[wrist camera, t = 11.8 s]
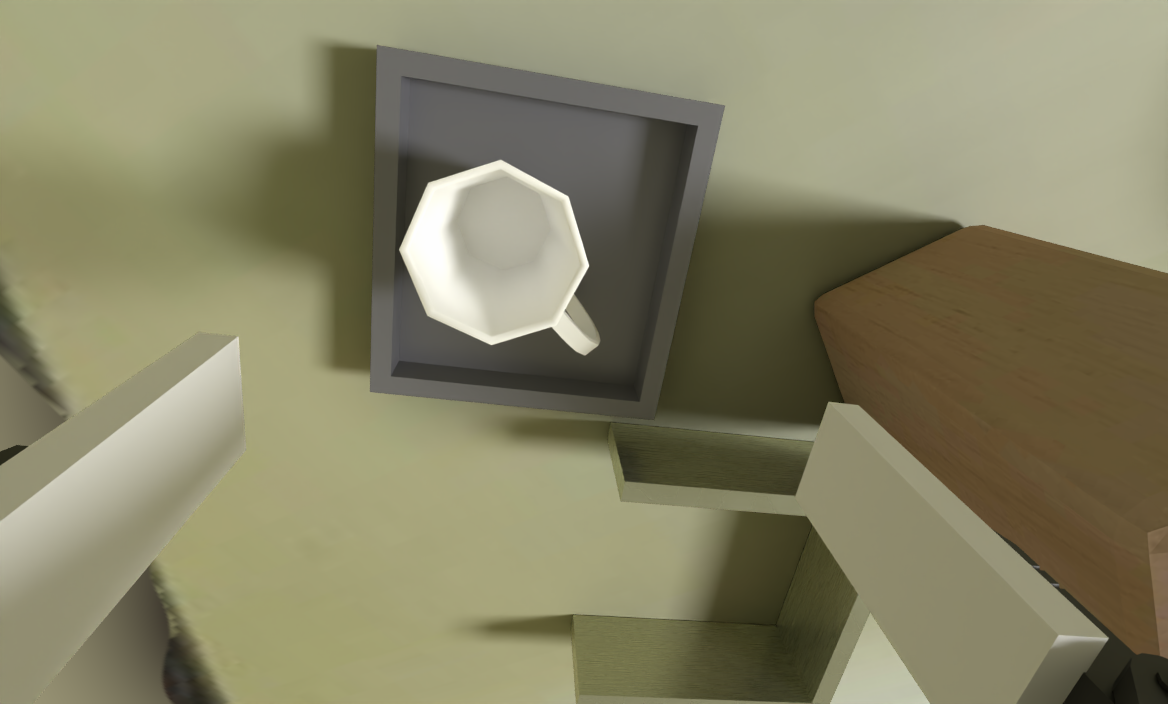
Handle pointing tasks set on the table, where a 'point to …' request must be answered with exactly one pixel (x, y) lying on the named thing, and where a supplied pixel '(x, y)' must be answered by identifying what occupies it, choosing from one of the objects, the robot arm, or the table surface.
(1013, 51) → the table surface
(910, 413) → the wooden block
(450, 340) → the tray
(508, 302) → the cup
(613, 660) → the bay
